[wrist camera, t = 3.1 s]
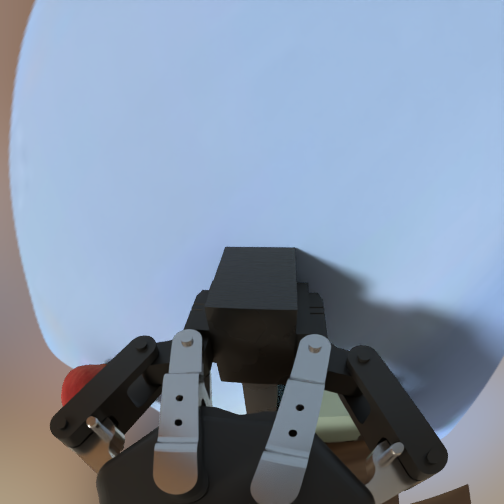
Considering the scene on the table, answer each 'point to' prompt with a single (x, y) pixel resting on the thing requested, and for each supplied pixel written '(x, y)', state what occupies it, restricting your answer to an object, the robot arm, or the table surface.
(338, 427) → the block
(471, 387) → the table surface
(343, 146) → the table surface
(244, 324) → the mallet
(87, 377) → the red rounded piece
